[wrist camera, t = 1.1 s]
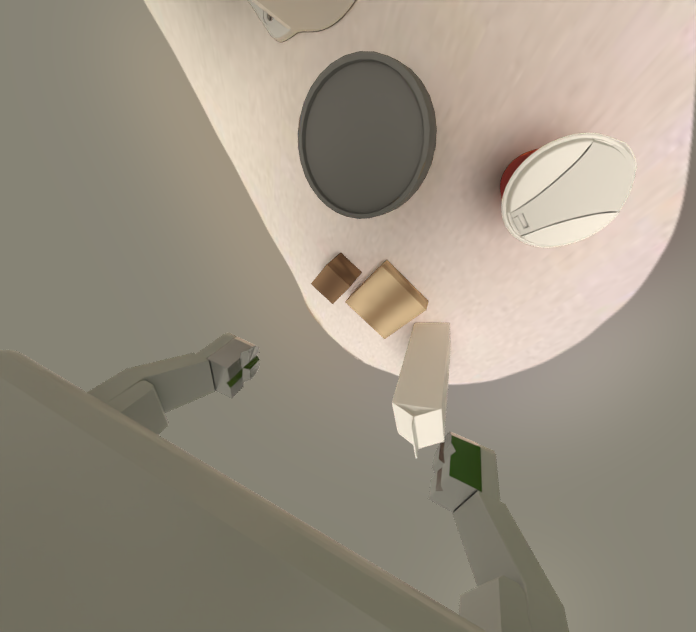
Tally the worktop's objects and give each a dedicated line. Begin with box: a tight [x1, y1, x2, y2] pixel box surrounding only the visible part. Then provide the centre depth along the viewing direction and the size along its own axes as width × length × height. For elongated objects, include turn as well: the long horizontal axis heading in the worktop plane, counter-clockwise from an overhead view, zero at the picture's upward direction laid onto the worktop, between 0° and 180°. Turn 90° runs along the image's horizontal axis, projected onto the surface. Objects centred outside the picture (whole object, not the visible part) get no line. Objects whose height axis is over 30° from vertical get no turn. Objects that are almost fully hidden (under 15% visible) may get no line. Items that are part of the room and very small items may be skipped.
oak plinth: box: [346, 260, 428, 339], centre depth 45 cm, size 10×10×3 cm
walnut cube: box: [311, 253, 362, 304], centre depth 45 cm, size 5×5×6 cm
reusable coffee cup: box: [298, 51, 437, 219], centre depth 28 cm, size 12×13×15 cm
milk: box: [392, 323, 450, 459], centre depth 39 cm, size 6×6×22 cm
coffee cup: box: [500, 133, 637, 248], centre depth 25 cm, size 8×8×15 cm
